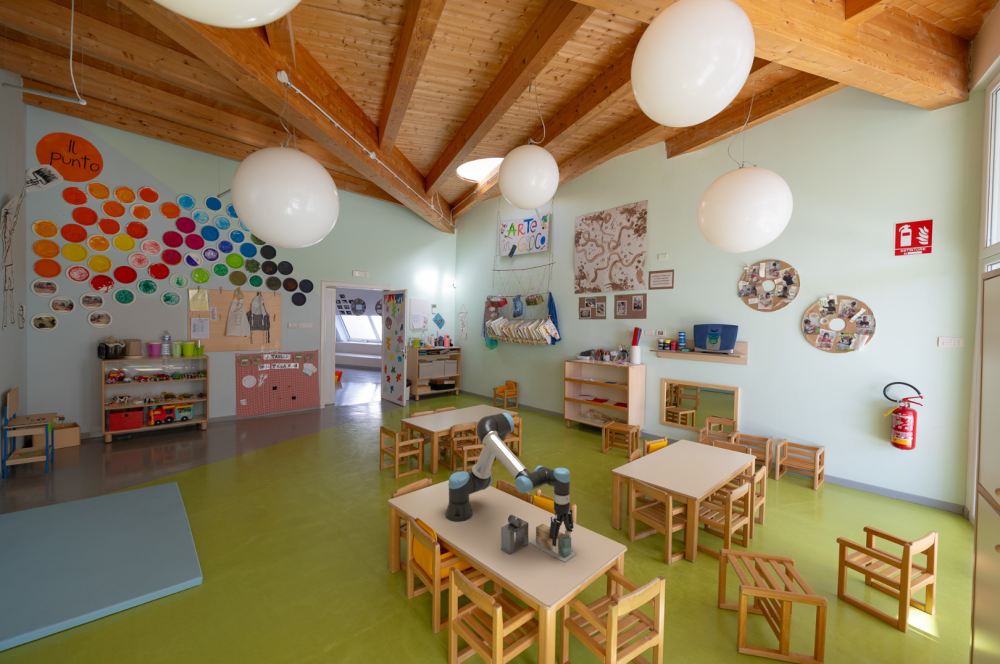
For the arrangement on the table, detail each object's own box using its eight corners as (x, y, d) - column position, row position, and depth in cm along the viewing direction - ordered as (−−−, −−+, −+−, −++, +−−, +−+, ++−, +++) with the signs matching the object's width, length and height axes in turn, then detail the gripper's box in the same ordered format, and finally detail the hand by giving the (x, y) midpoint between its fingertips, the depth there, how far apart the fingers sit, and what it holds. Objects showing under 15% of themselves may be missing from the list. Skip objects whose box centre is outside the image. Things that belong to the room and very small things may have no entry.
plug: (535, 542, 207) (535, 527, 207) (542, 538, 210) (542, 523, 210) (564, 558, 194) (564, 541, 194) (571, 553, 197) (571, 537, 197)
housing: (501, 549, 202) (501, 519, 202) (519, 539, 211) (519, 510, 210) (509, 554, 198) (509, 523, 197) (528, 544, 207) (528, 514, 206)
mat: (529, 543, 207) (529, 542, 207) (541, 536, 214) (541, 535, 214) (564, 562, 191) (564, 561, 191) (576, 554, 198) (576, 553, 198)
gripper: (553, 511, 187) (553, 560, 188) (581, 497, 202) (581, 542, 203) (541, 506, 193) (540, 553, 194) (569, 492, 207) (568, 536, 208)
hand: (561, 548), depth 198 cm, fingers open, 8 cm apart
